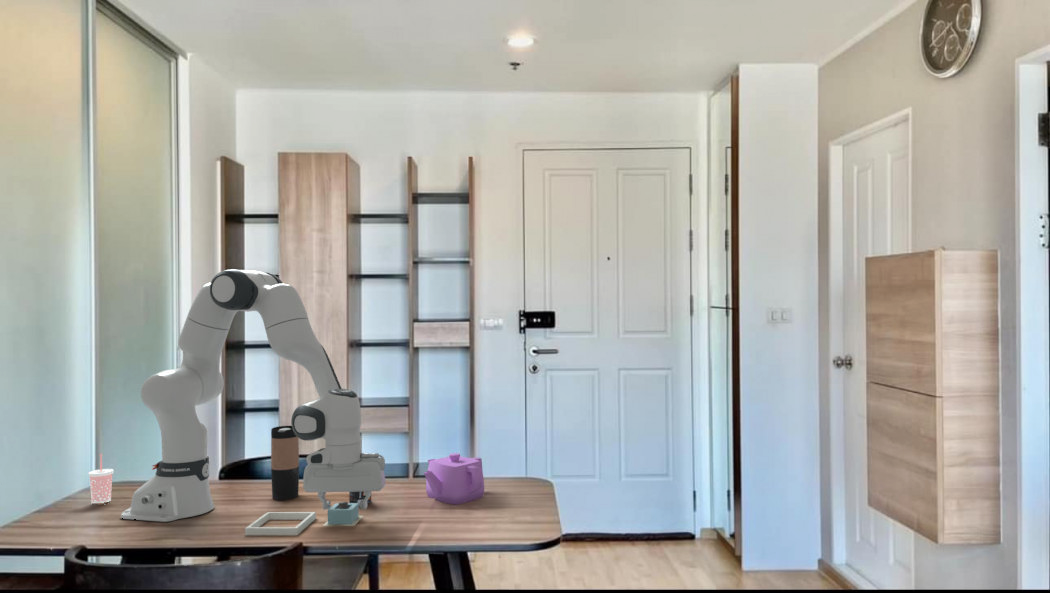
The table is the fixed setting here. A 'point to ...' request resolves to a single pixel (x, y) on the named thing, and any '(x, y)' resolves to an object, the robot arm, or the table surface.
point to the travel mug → (284, 463)
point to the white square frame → (257, 530)
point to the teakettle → (455, 479)
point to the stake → (344, 506)
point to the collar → (343, 514)
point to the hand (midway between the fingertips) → (345, 508)
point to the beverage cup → (101, 484)
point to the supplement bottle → (358, 497)
